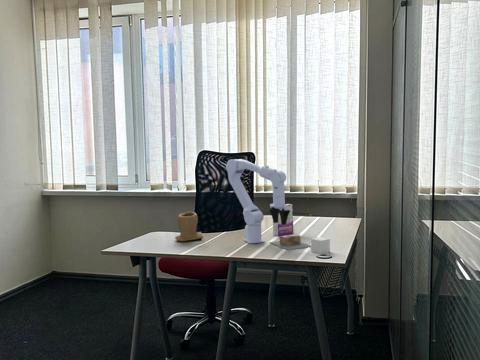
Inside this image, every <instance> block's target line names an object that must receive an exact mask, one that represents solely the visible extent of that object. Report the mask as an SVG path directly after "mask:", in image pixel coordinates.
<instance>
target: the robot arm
mask: <svg viewBox="0 0 480 360" xmlns="http://www.w3.org/2000/svg"><path fill="white" fill-rule="evenodd" d="M225 170H226V171H227V176H228V177H227V178H228V182H229V183H230V185H231V187H232V189H233V190H234V194H236V197H237V199H238V200H239V203H240V204H241V206H242V208H243V212H242V215H243V219H244V222H245V223H246V225H245V226H244V238H243V242H246V243H249V244H257V243H265V240H262V221H263V220H264V217H265V216H264V213H263V212H262V211H261V210H260V208H259V207H257V205H256V204H254V203H253V201H252V199H251V197H250V195H249V194H248V191H247V189H246V187H245V186H244V184H243V182H242V179H241V176H242V174H243V173H244V171H245V170H249V171H251V172H254V173H257V174H258V175H259V177H261V178H263V179H265V180H268V181H270V182H271V184H272V201H273V202H272V203H270V204H269V208H268V212H269V213H270V215H271V218H272V219H271V220H272V223H273V222H274V223H278V215H279V214H280V217H281V224H282V225H285V224H286V222H287V218H288V215H289V213H290V210H289V206H287V205H285V204H286V201H285V200H286V199H285V198H286V196H285V195H286V194H285V182H286V180H287V176H286V173H285V171H282V170H280V171H278V170H277V169H273V168H271V167H270V166H269V165H263V166H259V165H257V164H255V163H252V162H250V161H249V160H247V159H243V158H239V159H237V158H235V159H229V160H227V162H226V166H225ZM280 209H282V210H280Z"/></svg>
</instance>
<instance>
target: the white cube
mask: <svg viewBox="0 0 480 360" xmlns="http://www.w3.org/2000/svg"><path fill="white" fill-rule="evenodd" d="M310 245H311V247H310V249H311V250H310V252H311V253H315V254H316V253H317V254H318V255H319V254H320V255H321V254H322V255H323V254H325V253H326V254H327V253H330V252H331V240H330V238H327V237H321V236H319V237H313V238H310Z"/></svg>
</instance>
